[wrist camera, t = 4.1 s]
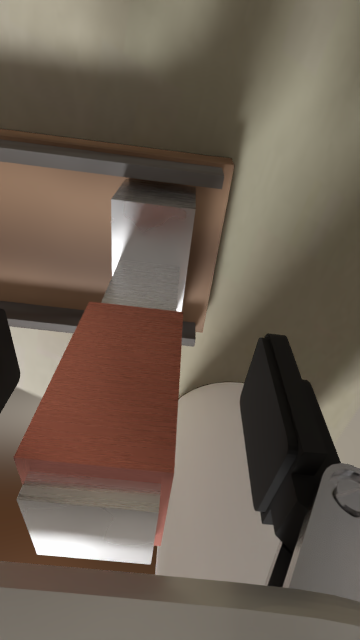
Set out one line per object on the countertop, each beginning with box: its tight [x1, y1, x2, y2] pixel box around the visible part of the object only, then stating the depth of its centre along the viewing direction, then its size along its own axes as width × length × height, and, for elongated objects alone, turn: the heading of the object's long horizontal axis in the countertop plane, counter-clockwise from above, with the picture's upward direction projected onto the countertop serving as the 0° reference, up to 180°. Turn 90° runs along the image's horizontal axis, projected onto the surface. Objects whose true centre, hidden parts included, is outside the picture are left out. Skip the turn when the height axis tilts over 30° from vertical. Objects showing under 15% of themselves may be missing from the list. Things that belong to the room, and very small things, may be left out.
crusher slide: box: [14, 179, 196, 564], centre depth 11 cm, size 7×3×12 cm, turn 174°
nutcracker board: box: [0, 129, 234, 346], centre depth 15 cm, size 9×18×6 cm, turn 84°
